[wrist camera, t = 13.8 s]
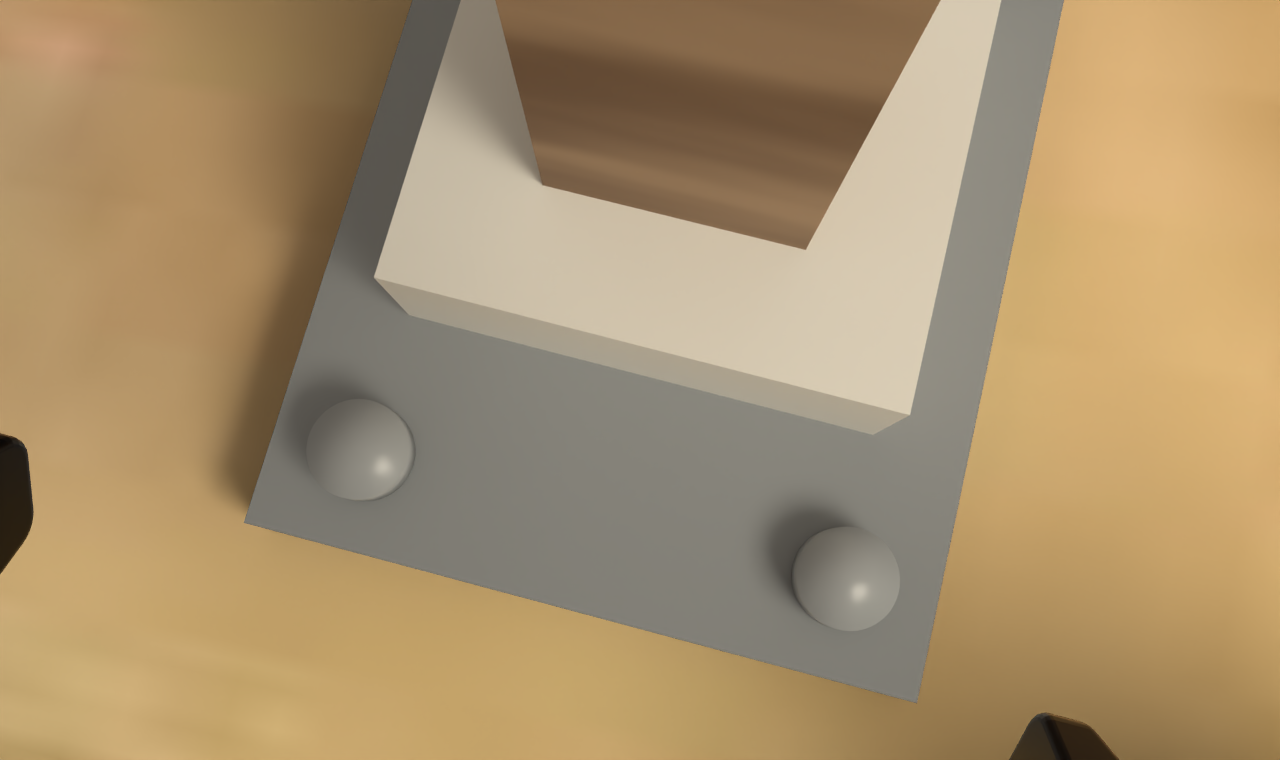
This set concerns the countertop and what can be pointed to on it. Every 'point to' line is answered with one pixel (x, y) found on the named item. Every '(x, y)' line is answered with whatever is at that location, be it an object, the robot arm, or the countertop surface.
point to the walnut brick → (708, 101)
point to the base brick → (665, 362)
